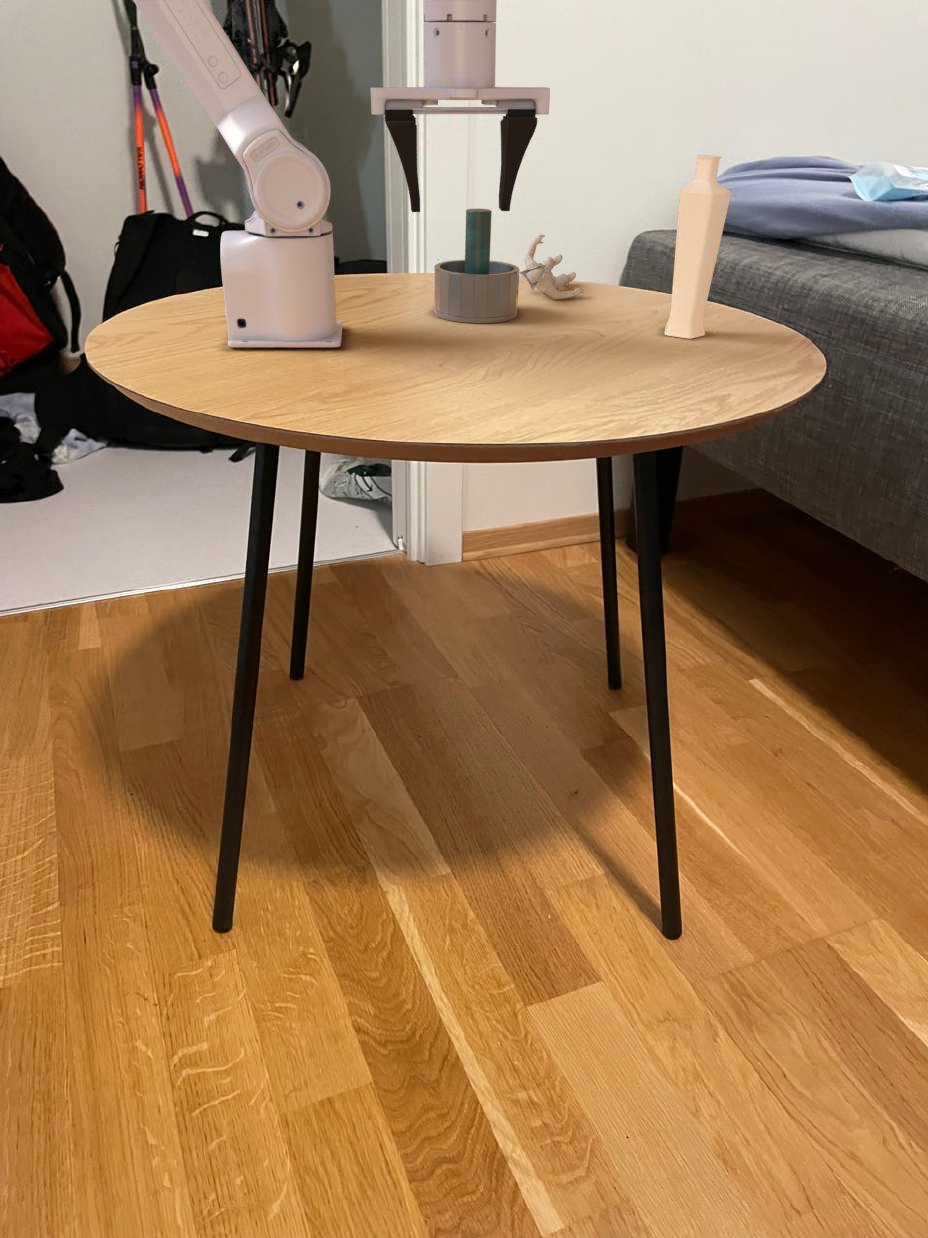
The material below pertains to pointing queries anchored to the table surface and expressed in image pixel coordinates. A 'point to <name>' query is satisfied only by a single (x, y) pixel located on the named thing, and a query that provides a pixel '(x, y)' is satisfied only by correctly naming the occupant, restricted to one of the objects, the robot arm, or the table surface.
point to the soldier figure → (547, 274)
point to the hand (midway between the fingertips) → (460, 210)
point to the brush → (477, 241)
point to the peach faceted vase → (696, 247)
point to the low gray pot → (476, 292)
